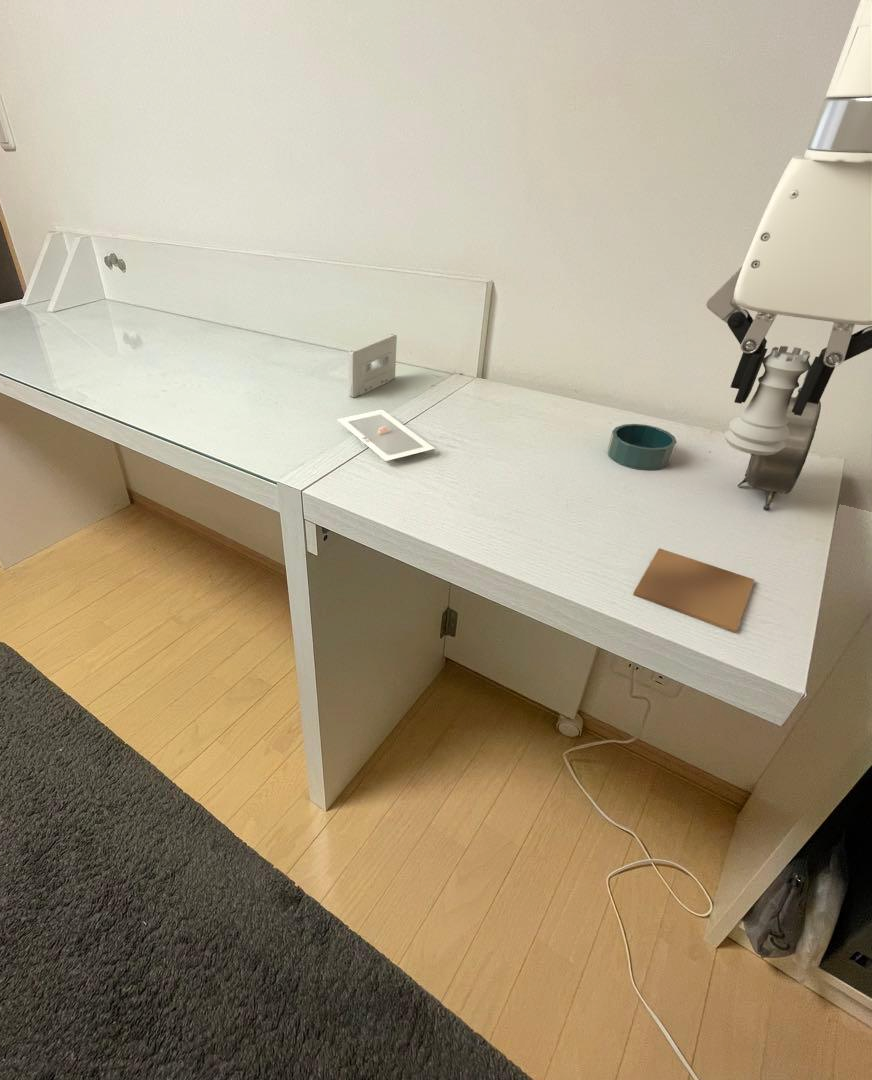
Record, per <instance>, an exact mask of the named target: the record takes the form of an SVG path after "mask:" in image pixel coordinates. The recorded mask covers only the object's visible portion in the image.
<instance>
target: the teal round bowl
mask: <svg viewBox="0 0 872 1080" xmlns="http://www.w3.org/2000/svg"><path fill="white" fill-rule="evenodd" d="M676 446H677V439H676V437H675V435H673V434H672V433H671V432H669V431H668V430H665V429H663V428H660V427H657V426H653V425H649V424H642V423H627V424H626V423H625V424H621V425H618V426H615V428H614V429H613V430H612V431H611V435H610V438H609V442H608V445H607V451H606V452H607V455H608V457H609V458H610V459H611V460H612V461H613V462H615V463H617V464H619V465H621V466H624V467H626V468H630V469H634V470H641V471H655V470H656V471H657V470H662V469H664V468H666V467H667V466H668V465H670V462H671V461H672V457H673V454H674V452H675V449H676Z"/></svg>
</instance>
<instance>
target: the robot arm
mask: <svg viewBox="0 0 872 1080" xmlns="http://www.w3.org/2000/svg"><path fill="white" fill-rule="evenodd" d="M825 97H826V98H825V99H824V100H823V102H822V104H821V108H820V111H819V113H818V116H817V118H816V122H815V124H814V127H813V130H812V133H811V136H810V138H809V141H808V143H807V148H806V150H805V152H804V154H800V155H799V154H798V155H793V156H792V158H791V159H790V161H789V163H788V164H787V166H786V168H785V169H784V171H783V173H782V175H781V177H780V179H779V181H778V183H777V185H776V187H775V189H774V191H773V192H772V195H771V197H770V200H769V201H768V204H767V206H766V208H765V210H764V212H763V215H762V216H761V219H760V221H759V223H758V227H757V229H756V231H755V233H754V236H753V238H752V241H751V243H750V246H749V248H748V250H747V253H746V256H745V259H744V261H743V264H742V266H741V267H740V268H739V269H738V270H737V271H736V272H734V274H733V275H731V277H730V278H729V279H728V280H727V281H725V283H724V284H722V286H720V287H719V289H718V290H717V291H716V292H714V293H713V295H711V296H710V297H709V298H708V300H707V301H706V308H707V310H709V311H710V312H712V313H713V315H715V316H716V317H717V318H719V319H720V320H721V321H723V322H724V323H726V324H727V327H728V328H729V329H730V331H731V333H732V334H733V336H734V337H735V339H736V340H737V342H738V343H739V345H740V350H741V352H742V354H741V357H740V360H739V362H738V365H737V368H736V371H735V373H734V375H733V378H732V380H731V385H730V388H731V389H737V393H736V395H735V399H734V404H743V403H744V404H745V403H746V401H747V399H748V398H749V396H750V394H751V392H752V390H753V387H754V385H755V383H756V380H757V377H758V374H759V372H760V369H761V367H762V365H763V362H762V359H763V358H765V357H766V354H767V352H768V348H766V347H767V342H768V340H767V339H766V336H767V334H768V332H769V330H770V329H771V327H772V325H773V324H774V321H775V319H776V318H777V316H784V317H794V318H799V319H807V320H808V319H809V320H815V321H823V322H829V323H833V324H832V328H831V332H830V335H829V337H828V341H827V345H826V347H824V348H823V349H821V351H820V353H819V355H818V356H816V355H815V356H814V359H813V361H812V363H811V364H812V366H811V368H810V370H809V372H808V371H807V372H808V375H807V377H806V379H805V381H804V380H803V382H804V384H803V383H802V385H803V386H802V385H801V387H802V388H801V387H800V388H801V391H800V393H799V395H798V394H797V395H798V397H797V400H796V402H795V404H794V407H793V409H792V412H793V413H794V415H799V416H801V415H802V413H803V411H804V409H805V406H806V404H807V402H809V403H814V404H818V403H819V401H820V402H821V399H822V396H823V394H824V392H825V390H826V388H827V386H828V383H829V382H830V379H831V377H832V375H833V373H834V371H835V369H836V367H838V366H841V365H842V364H843V363H844V362H846V361H848V360H850V359H852V358H854V357H856V356H859V355H860V354H862V353H865V352H867V351H869V350H871V349H872V0H860V1H859V3H858V6H857V8H856V12H855V14H854V17H853V20H852V23H851V26H850V29H849V31H848V33H847V36H846V39H845V42H844V45H843V48H842V50H841V53H840V56H839V59H838V61H837V63H836V67H835V70H834V73H833V75H832V78H831V81H830V83H829V86H828V88H827V92H826V94H825ZM749 311H752V312H757V313H756V315H755V316H754V318H753V317H752V315H751V314H750V312H749ZM855 326H867V327H865V328H863V329H861V330H859V331H856V332H855V333H853V332H854V329H855Z"/></svg>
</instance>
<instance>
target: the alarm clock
mask: <svg viewBox="0 0 872 1080" xmlns="http://www.w3.org/2000/svg"><path fill="white" fill-rule="evenodd" d="M810 365H811V366H812V363H810ZM809 370H810V369H809ZM809 370H807V371H806V374H805V376H804V379H803V381H802V385H801V386H800V387H798V389H797V395H796V396H791V399H790V403H789V407H788V410H787V415H786V419H787V420H788V424H787V427H788V429H789V436H788V438H787V439H785V440H783V442H784V443H785V448H783V449H782V450H780V451H778V452H777V453H775V454H771V455H755V454H750V459H749V460H748V461H749V462H748V465H747V469H746V471H745V475H744V476H745V477H744V479H743V480H742V481H741V482H739V483H738V484H737V487H741V486H742V485H743V484H745V483H747V485H748V486H749V487H750V488H752V489H756V490H761V491H764V492H765V491H766V497H765V505H763V506H762V509H763V510H764V511H770V509H771V507H770V506H771V505H772V503H773V501H774V497H775V495H777V494H782V495H789V494H790V493H791V492H792V491H793V489H794V487H795V485H796V483H797V481H798V479H799V477H800V474H801V473H802V471H803V467H804V465H805V463H806V461H807V457H808V455H809V453H810V449H811V446H812V443H813V440H814V438H815V434H816V431H817V425H818V422H819V418H820V414H821V409H822V402H821V400H820V401H819V403H818V404H814V403H809V402H807V404H806V406H805V409H804V411H803V413H802V415H801V416H799V415H794V413H793V412H792V409H793V407H794V404H795V402H796V400H797V397H798V395H799V393H800V391H801V388H802V386H803V384H804V381H805V379H806V377H807V375H808V372H809Z"/></svg>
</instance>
